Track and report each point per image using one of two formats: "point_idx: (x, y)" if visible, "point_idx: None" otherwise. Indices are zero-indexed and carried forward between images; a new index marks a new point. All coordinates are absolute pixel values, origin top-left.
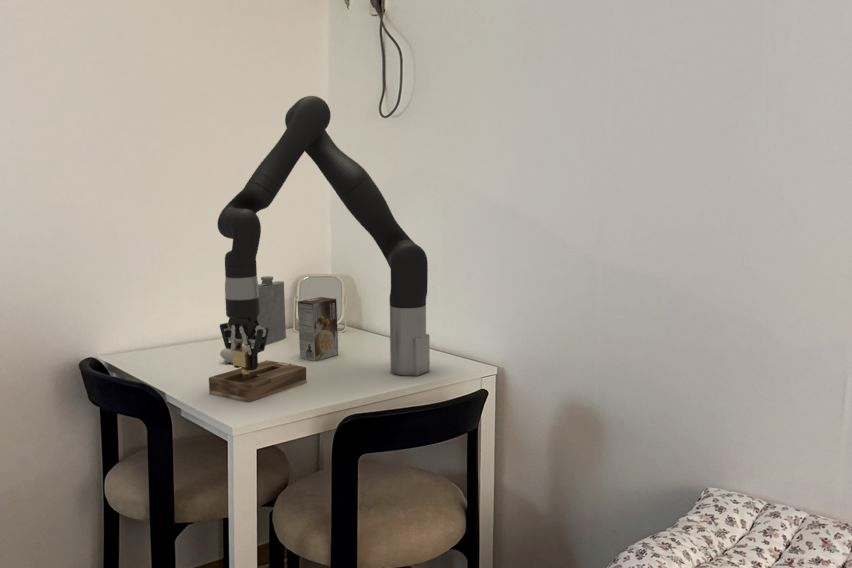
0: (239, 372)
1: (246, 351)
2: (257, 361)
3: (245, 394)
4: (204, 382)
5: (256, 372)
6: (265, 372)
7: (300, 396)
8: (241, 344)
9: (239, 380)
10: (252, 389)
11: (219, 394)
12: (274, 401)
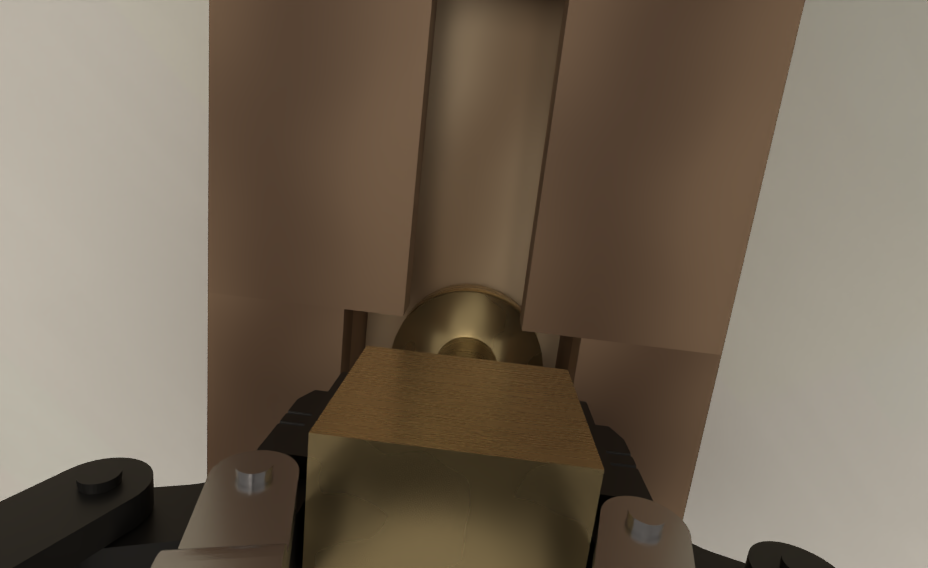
0: (317, 309)
1: None
2: (633, 466)
3: None
4: (18, 268)
5: (417, 183)
6: (543, 203)
7: (903, 263)
8: (289, 545)
9: (357, 320)
10: None
11: None
12: (778, 429)
